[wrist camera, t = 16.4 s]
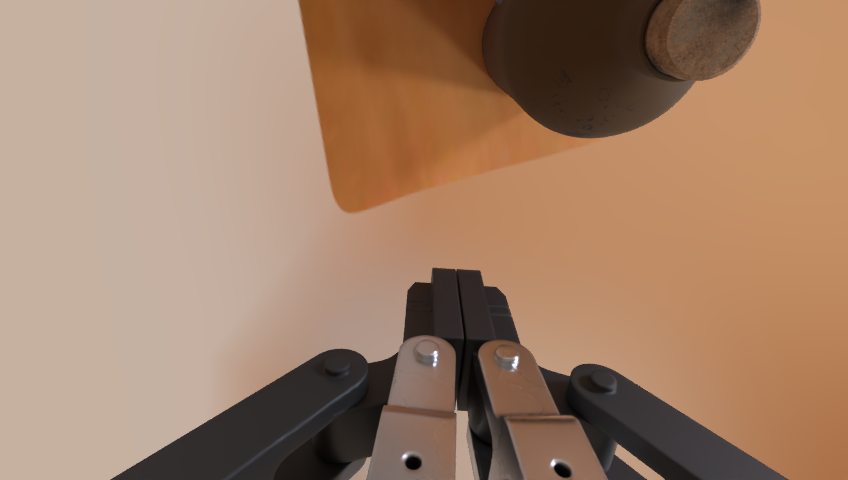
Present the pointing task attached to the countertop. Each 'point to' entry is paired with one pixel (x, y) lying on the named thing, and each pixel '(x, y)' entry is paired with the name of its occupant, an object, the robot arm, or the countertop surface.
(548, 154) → the countertop surface
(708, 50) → the brown bottle
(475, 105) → the countertop surface
